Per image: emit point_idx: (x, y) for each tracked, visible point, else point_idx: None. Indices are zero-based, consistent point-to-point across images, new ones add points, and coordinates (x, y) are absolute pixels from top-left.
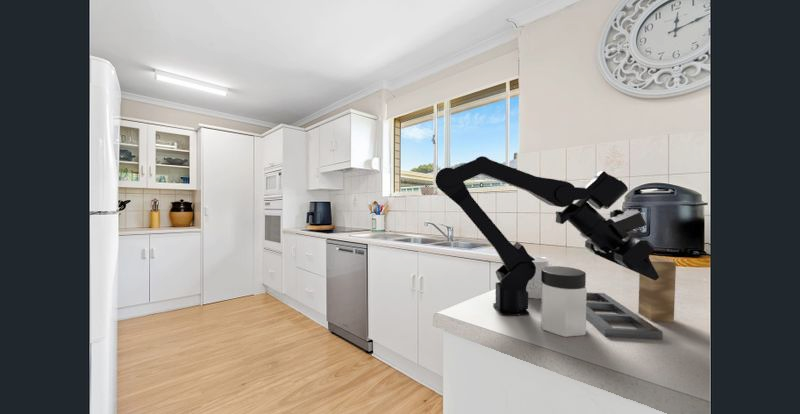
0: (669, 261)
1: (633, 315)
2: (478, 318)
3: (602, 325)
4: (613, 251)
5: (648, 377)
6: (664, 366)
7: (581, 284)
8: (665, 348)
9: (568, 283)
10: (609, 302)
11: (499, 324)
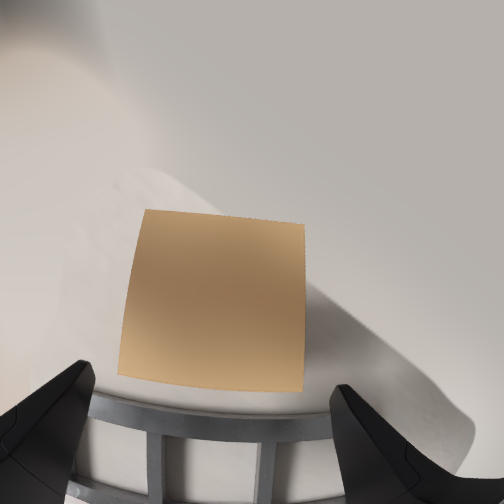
0: (289, 255)
1: (268, 432)
2: None
3: None
4: (28, 484)
5: (457, 467)
6: (442, 442)
7: None
8: (397, 419)
9: None
10: (148, 435)
11: None
